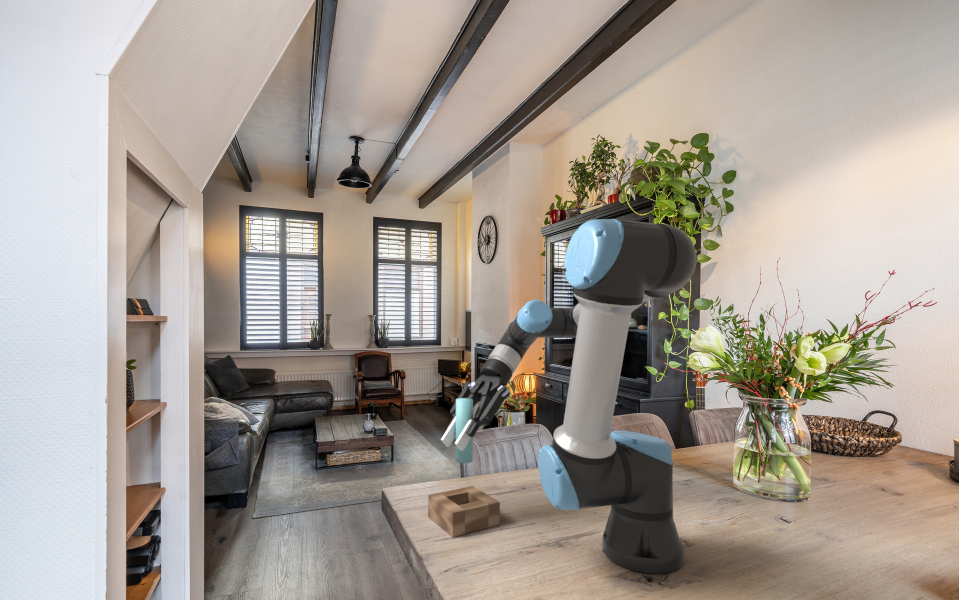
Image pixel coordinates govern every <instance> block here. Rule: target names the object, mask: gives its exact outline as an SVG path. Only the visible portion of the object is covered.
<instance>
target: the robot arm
mask: <svg viewBox="0 0 959 600" xmlns="http://www.w3.org/2000/svg"><path fill="white" fill-rule="evenodd" d="M697 257H698V256H697V252H696V248H695V245H694V243H693V241H692V240H691V238H690V237H689V236H688V234H687V233H685V232H684V231H683V230H682V229H680V228H679V227H675V226H674V225H671V224H668V223H656V222H655V223H652V222H644V221H633V220H621V219H615V218H610V219H609V218H607V219H606V218H604V219H603V218H602V219H601V218H600V219H597V218H596V219H590V220H587V221H586V222H584V223H582V224H580V226H579V227H578V228H577V230H575V232H574V233H573V235H572V236H571V238H570V240H569V242H568V245H567V248H566V251H565V256H564V266H563V267H564V270H565V273H564V275H565V279H566V281H567V283H568V284H569V285H570V286H571V287H572V288H573V296H574V297H575V299H576V300H577V301H578V303H577V304H575V305H574V306H572V307H550V305H549V304H547V303H546V302H544V301H541V300H540V299H532V300H530V301H528V302H526V303H525V304H524V305H523V306H522V307H521V308H520V310H518V313H517V315H516V316H515V317H514V319H513V320H512V321H511V322H510V323H509V324H508V325H507V328H506V330H505V331H504V333H503V335H502V336H501V338H500V339H499V342H498V343H497V344H496V345H495V347H494V348H493V350H492V352H490V354H489V356H488V359H486V360H485V363H484V364H483V365H482V367H481V369H480V375H479V377H477V379H475V381H473V382H470V381H469V380H467V381H465V383H464V387H463V388H462V390H461V392H460V394H459V396H458V397H457V399H458V398H471V399H473V408H474V407H475V406H476V405H477V404H478V406H477V409H476V411H475V413H474V414H473V417H472V419H473V421H472V420H470V419H469V421H468V423H467V424H466V426H465V427H464V429H463V431H462V432H461V434H460V436H459V437H458V439H457V440H456V401H455V402H454V404H453V405H452V407H451V408H450V411H449V413H450V414H451V415H452V419H451V421H450V422H449V424H448V426H447V429H446V430H445V432H444V434H443V436H442V437H441V438H440V441H442V443H443V444H444V445H445V446H446V448H450V446H451V444H452V443H453V441H454V440H455V441H454V444H455V446H456V445H457V447H458V448H459V449H460V450H461V451H464V449H465V447H466V446H467V444H468V442H469V441H470V439H471V437H473V438H474V437H475V436H476V433H477V431H478V430H479V428H480V427H482V426H486V427H487V426H489V425H491V422H492V421H493V419H494V417H495V416H496V414H497V413H498V412H499V409H500V408H501V406H502V405H503V403H504V401H505V400H506V399H507V398H509V396H510V395H511V392H510V391H509V389H508V387H507V385H508V384H509V382H510V381H511V379H512V378H513V374H515V372H516V370H517V369H518V367H519V365H520V363H521V362H522V361H523V358H524V356H525V355H526V353H527V352H528V350H529V349H530V347H531V346H533V343H534V342H535V341H536V340H537V339H538V338H543V339H545V338H549V339H550V338H568V339H569V338H575V342H574V349H573V357H572V364H571V370H570V377H569V383H568V390H567V396H566V402H565V403H566V404H565V409H564V410H565V412H564V416H563V424H562V425H560V426H558V427H556V428H555V429H554V432H553V437H552V443H551V444H546V445H543V446H541V448H540V449H539V451H538V455H537V467H538V469H537V470H538V473H539V474H538V475H539V479H540V483H541V486H542V489H543V492H544V494H545V495H546V498H547V500H548V501H549V503H550V504H551V505H552V507H554V508H555V509H557V510H559V511H576V512H577V511H579V510H582V509H583V510H584V509H592V508H599V507H607V506H610V513H609V515H608V518H607V521H606V524H605V527H604V531H603V534H602V539H601V542H602V547H601V548H602V552H603V554H604V556H606V558H608V559H609V560H610V561H612V562H613V563H615V564H616V565H618V566H620V567H623V568H626V569H628V570H631V571H635V572H638V573H639V572H640V573H647V574H668V573H672V572H675V571H677V570H679V569H680V568H681V567H682V566H683V565H684V563H685V560H684V557H685V555H684V547H683V544H682V541H681V540H680V536H679V533H678V529H677V526H676V523H675V519H674V511H673V510H674V501H673V497H674V496H673V495H674V494H673V493H674V492H673V490H674V489H673V485H674V483H673V482H674V481H673V474H674V473H673V472H674V471H673V468H674V467H673V466H674V462H673V455H672V446H671V445H670V443H669V442H667V441H666V440H664V439H663V438H659V437H658V436H653V435H649V434H646V433H645V434H644V433H641V432H635V431H627V430H614V431H612V430H611V429H612V424H613V419H614V413H615V406H616V401H617V395H618V389H619V384H620V377H621V372H622V367H623V361H624V355H625V349H626V344H627V339H628V333H629V327H630V321H631V316H632V313H633V312H634V311H635V310H636V309H638V308H640V307H641V306H642V305H643V304H644V303H645V302H648V301H649V300H650V299H655V300H656V299H657V300H659V299H664V298H666V297H667V296H669V295H671V294H673V293H675V292H677V291H678V290H680V289H681V288H682V287H684V286H685V285H686V284H687V283H689V281H690V279H691V278H692V276H693V275H694V272H695V271H696V267H697V259H698V258H697Z"/></svg>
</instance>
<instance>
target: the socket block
mask: <svg viewBox="0 0 959 600" xmlns="http://www.w3.org/2000/svg"><path fill="white" fill-rule="evenodd" d="M427 498H428V502H427V504H428V507H427V508H428V509H427V514H428V515H427V517H428V519H430V520H431V521H432V522H434V523H435V524H436V526H438V527H439V528H441V529H442V530H443V531H444V532H446V533H447V534H448V535H449V536H450V537H451V538H455V537H459V536H463V535H466V534H470V533H474V532H477V531H482V530H484V529H490V528H493V527H496V526H500V525H501V518H500V517H501V513H500V512H501V507H500V506H501V504H500V501H499V500H497V499H496V498H493V497H492V496H490V495H488V494H487V493H485V492H484V491H483V490H480V489H478V488H477V487H475V486H474V485H470V486H466V487H460V488H456V489H455V488H454V489H450V490H445V491H441V492H437V493H432V494H428V497H427Z"/></svg>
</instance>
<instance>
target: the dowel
mask: <svg viewBox="0 0 959 600" xmlns="http://www.w3.org/2000/svg"><path fill="white" fill-rule="evenodd" d="M455 402H456V437H455V441H456V440H457V439H458V437H459V436H460V434H461V432H462V431H463V429H464V427H465V426H466V424H467V423H468V421H469V419H470V420H472V421H474V420H473V419H472V417H473V416H474V407H473V399H471V398H458V397H457V398H456V399H455ZM473 439H474V436H473V437H471V439H470V441H469V442H468V444H467V446H466V447H465V449H464V451H461V450H460V449H459V448H458V447H457V445H456V444H455V446H454V447H455V451H454V452H455V457H454V458H455V462H456V463H458V464H470V463H472V462H473V461H474V460H473V458H474V455H473V454H474V453H473V452H474V449H473V448H474V443H473V442H474V440H473Z"/></svg>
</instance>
